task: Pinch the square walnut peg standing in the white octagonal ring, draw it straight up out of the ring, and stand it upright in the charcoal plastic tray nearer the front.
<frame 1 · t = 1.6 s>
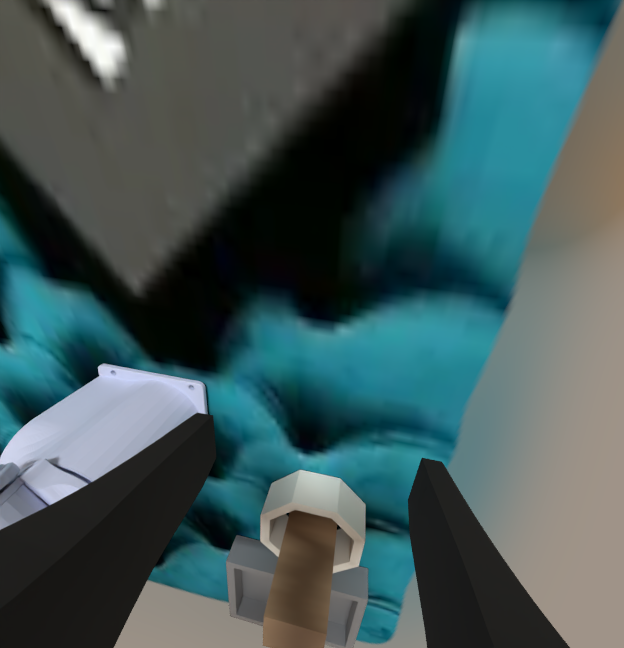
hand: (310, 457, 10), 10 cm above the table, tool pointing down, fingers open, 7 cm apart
walnut peg: (306, 561, 23), in the white octagonal ring
tray: (297, 580, 32), on the table
white octagonal ring: (315, 506, 27), on the table
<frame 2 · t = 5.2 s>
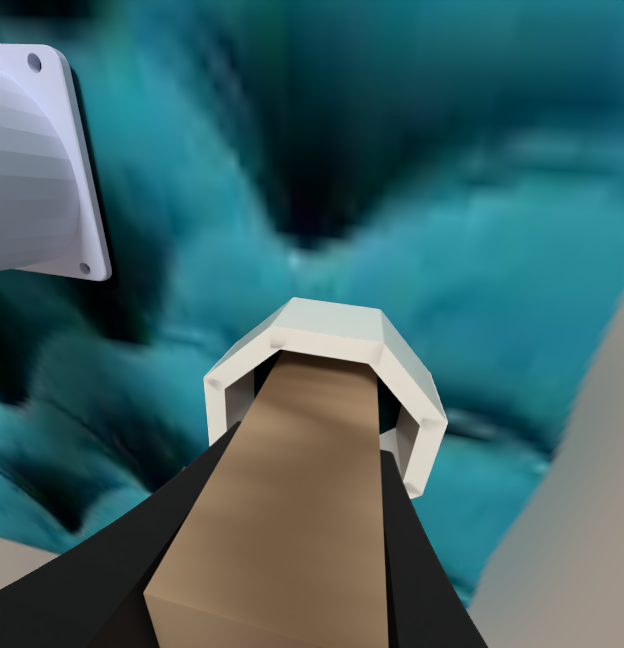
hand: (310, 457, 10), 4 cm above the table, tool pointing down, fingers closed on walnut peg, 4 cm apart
walnut peg: (306, 471, 9), in the white octagonal ring, touching gripper
white octagonal ring: (325, 389, 13), on the table
when the fingers open (6 cm above the table, at t = 10.6 s): walnut peg drops 1 cm, resting on tray.
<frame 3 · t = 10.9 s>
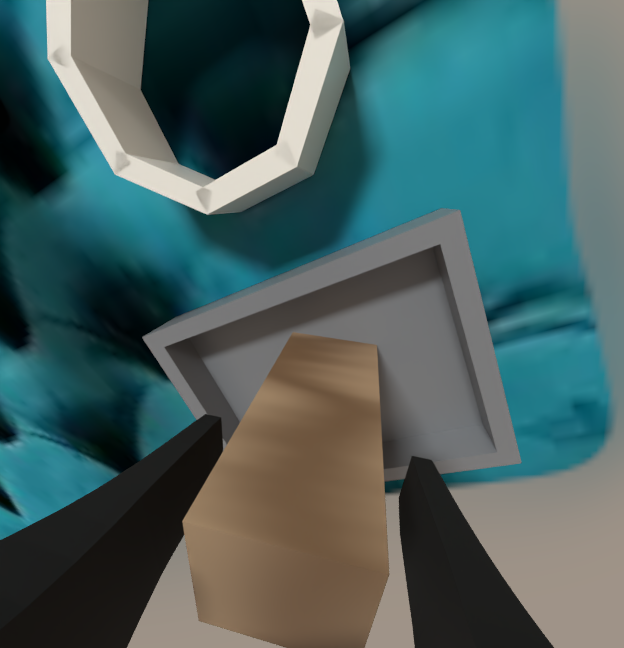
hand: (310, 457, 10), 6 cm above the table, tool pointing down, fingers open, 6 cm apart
walnut peg: (313, 442, 10), in the tray, point 5 cm above the table
tray: (330, 368, 15), on the table
white octagonal ring: (227, 81, 11), on the table
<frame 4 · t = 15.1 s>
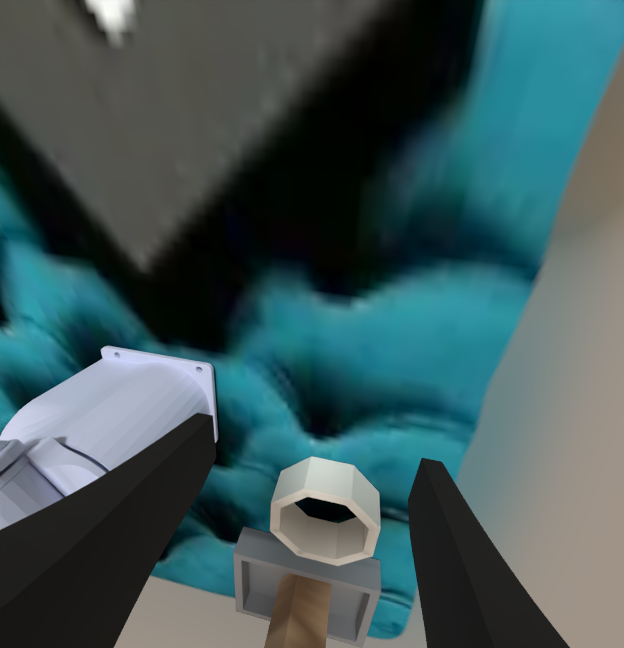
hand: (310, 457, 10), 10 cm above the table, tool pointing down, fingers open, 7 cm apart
walnut peg: (295, 641, 26), in the tray, point 5 cm above the table
tray: (305, 573, 31), on the table
white octagonal ring: (326, 495, 26), on the table
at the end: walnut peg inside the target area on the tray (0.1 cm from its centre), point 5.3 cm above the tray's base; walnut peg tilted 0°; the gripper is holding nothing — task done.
